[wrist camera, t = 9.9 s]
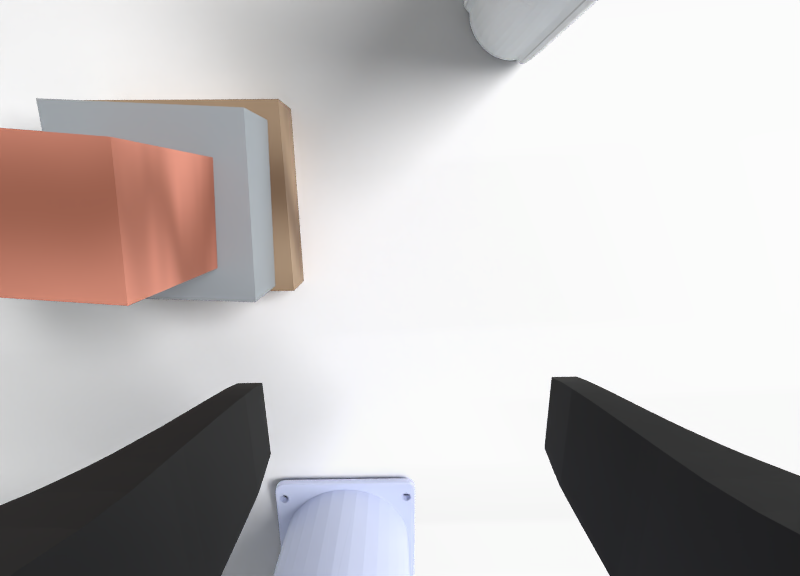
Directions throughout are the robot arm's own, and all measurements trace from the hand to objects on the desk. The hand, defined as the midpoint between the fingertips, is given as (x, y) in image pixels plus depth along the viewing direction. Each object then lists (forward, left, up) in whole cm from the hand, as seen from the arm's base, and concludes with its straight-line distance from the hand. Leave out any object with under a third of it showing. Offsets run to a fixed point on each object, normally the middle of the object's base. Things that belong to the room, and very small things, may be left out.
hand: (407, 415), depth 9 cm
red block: (+5, +9, -6) cm, 12 cm away
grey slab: (+5, +9, -9) cm, 13 cm away
